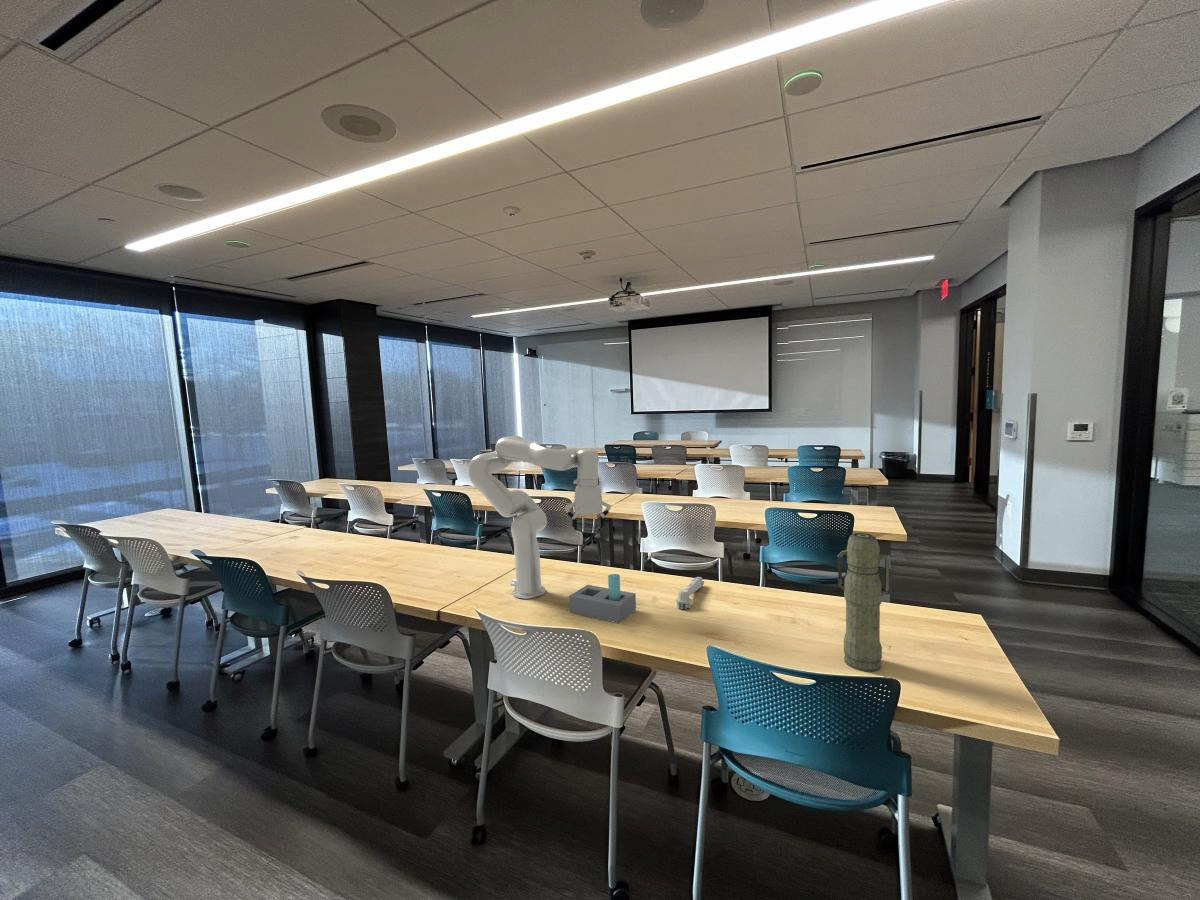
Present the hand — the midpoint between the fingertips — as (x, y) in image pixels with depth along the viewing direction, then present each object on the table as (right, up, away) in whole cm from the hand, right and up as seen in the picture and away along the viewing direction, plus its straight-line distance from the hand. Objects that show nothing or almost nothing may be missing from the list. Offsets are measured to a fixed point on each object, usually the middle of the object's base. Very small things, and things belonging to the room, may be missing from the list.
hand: (588, 528), depth 179 cm
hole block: (+5, -28, -9) cm, 30 cm away
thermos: (+75, -28, -50) cm, 94 cm away
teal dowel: (+10, -26, -12) cm, 30 cm away
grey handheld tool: (+38, -26, 0) cm, 46 cm away
